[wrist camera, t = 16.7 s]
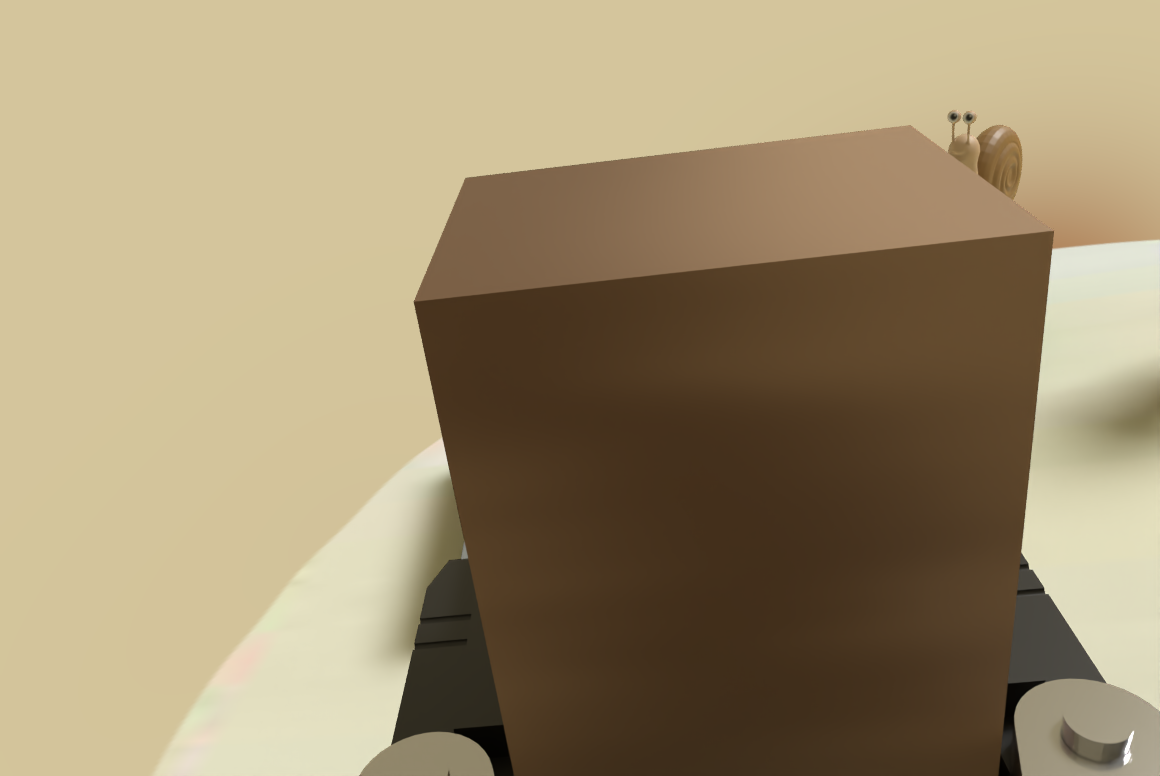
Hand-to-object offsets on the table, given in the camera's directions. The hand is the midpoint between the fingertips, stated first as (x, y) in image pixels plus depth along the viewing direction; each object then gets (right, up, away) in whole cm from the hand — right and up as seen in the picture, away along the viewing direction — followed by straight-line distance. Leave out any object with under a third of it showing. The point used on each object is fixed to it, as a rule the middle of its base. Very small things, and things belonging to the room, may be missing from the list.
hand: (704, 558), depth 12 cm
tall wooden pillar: (+1, -9, +1) cm, 9 cm away
